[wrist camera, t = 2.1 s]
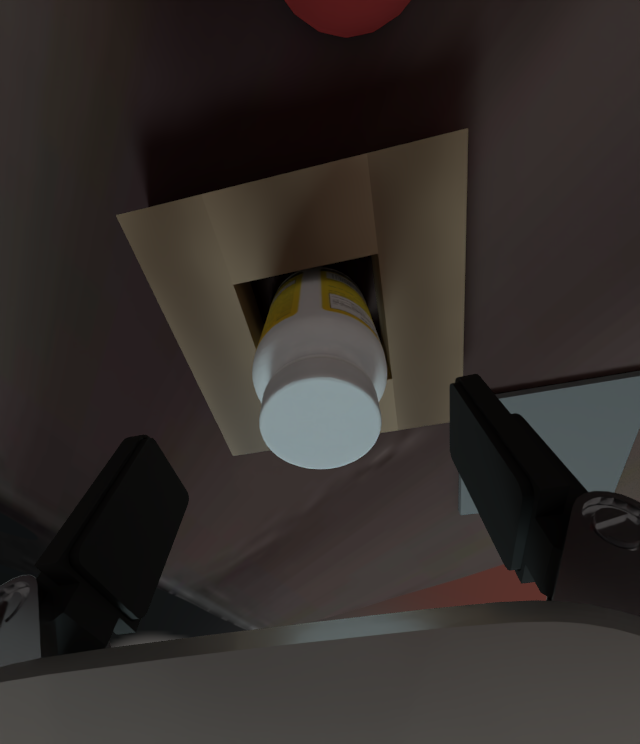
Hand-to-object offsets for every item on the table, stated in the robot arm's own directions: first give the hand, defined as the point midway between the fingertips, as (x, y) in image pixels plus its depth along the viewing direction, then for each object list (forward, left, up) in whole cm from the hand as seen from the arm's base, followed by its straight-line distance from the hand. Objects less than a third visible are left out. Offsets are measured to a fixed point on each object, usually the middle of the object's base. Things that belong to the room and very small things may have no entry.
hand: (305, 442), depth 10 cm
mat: (-14, +14, -10) cm, 22 cm away
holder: (-1, 0, -10) cm, 10 cm away
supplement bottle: (-1, 0, -10) cm, 10 cm away
